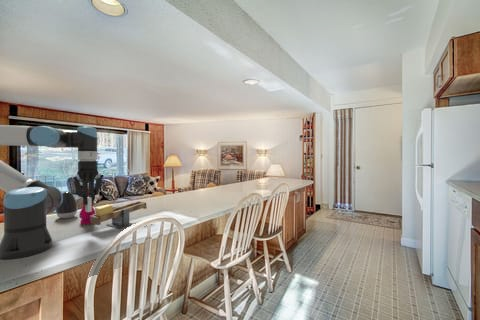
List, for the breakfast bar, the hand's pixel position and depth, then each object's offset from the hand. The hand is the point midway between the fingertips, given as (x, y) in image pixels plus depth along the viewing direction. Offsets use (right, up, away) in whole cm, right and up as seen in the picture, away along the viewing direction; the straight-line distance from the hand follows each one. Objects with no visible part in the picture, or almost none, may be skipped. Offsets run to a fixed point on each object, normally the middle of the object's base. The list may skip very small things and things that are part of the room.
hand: (88, 211), depth 103 cm
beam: (+8, -5, +13) cm, 16 cm away
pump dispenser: (-32, -10, +28) cm, 43 cm away
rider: (+4, -4, +6) cm, 8 cm away
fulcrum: (+8, -10, +13) cm, 19 cm away
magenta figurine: (-12, -10, +17) cm, 23 cm away
